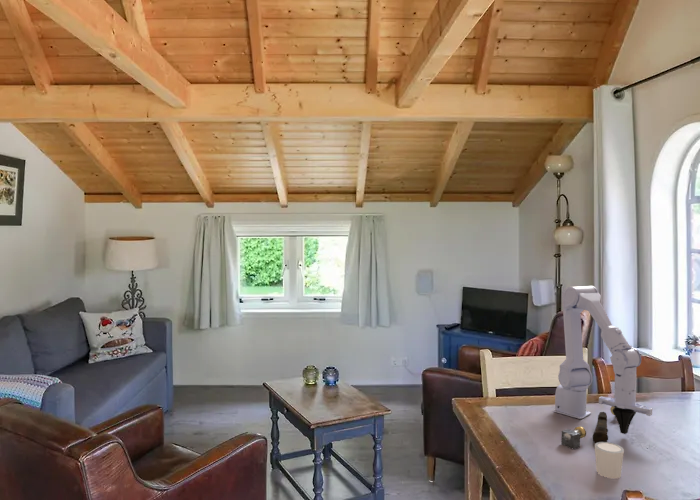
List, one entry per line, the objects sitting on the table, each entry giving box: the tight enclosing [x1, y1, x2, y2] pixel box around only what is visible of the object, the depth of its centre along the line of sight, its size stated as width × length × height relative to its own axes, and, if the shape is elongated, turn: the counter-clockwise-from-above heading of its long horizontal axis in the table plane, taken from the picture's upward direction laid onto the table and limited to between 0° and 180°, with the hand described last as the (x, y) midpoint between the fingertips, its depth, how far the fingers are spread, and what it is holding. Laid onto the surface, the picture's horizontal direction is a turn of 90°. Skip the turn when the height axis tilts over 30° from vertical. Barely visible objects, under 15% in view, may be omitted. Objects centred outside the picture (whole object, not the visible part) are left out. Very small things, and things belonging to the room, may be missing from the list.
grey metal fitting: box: [561, 426, 587, 450], centre depth 151 cm, size 7×4×5 cm, turn 122°
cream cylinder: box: [594, 441, 625, 480], centre depth 133 cm, size 7×7×7 cm
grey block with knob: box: [609, 406, 615, 416], centre depth 172 cm, size 7×4×5 cm, turn 122°
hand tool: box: [592, 411, 609, 444], centre depth 159 cm, size 19×4×5 cm, turn 149°
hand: (624, 432), depth 156 cm, fingers closed
